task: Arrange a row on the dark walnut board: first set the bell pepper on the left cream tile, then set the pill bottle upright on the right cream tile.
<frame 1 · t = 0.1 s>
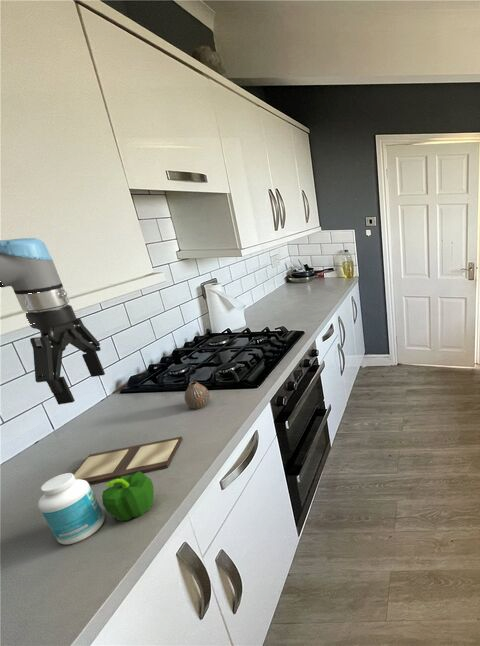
hand: (83, 388, 87), 22 cm above the worktop, tool pointing down, fingers open, 13 cm apart
pill bottle: (83, 530, 75), on the worktop
layout board: (128, 462, 93), on the worktop
bell pepper: (137, 510, 79), on the worktop
brown rounded bulb: (200, 406, 118), on the worktop
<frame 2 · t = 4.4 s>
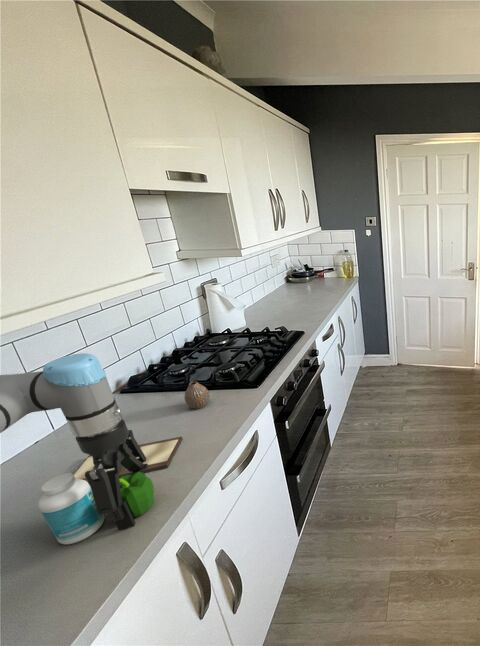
hand: (136, 509, 79), 0 cm above the worktop, tool pointing down, fingers closed on bell pepper, 8 cm apart
bell pepper: (137, 510, 79), on the worktop, touching gripper
everything else where it was.
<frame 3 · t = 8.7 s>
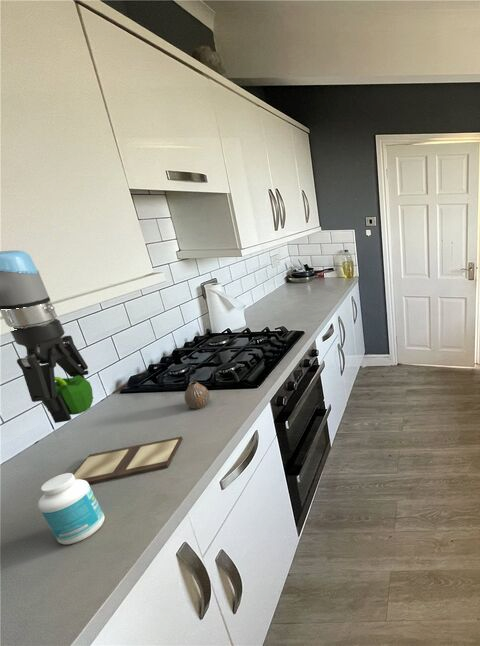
hand: (75, 409, 84), 19 cm above the worktop, tool pointing down, fingers closed on bell pepper, 8 cm apart
bell pepper: (76, 411, 84), point 18 cm above the worktop, touching gripper
everything else where it was.
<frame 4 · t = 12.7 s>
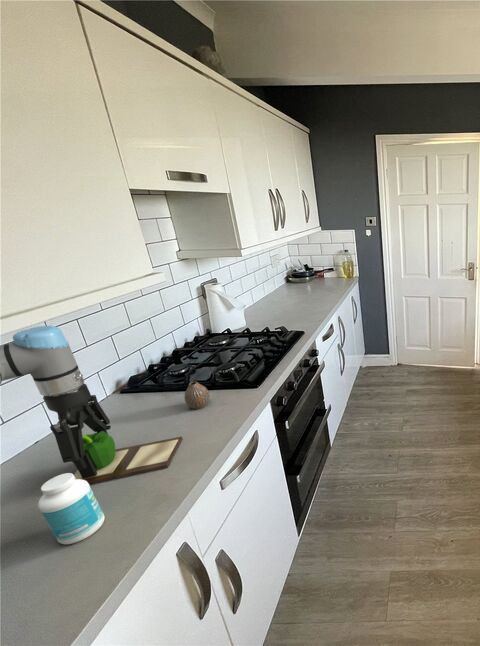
hand: (99, 463, 91), 1 cm above the worktop, tool pointing down, fingers closed on bell pepper, 8 cm apart
bell pepper: (100, 464, 91), point 1 cm above the worktop, touching gripper, layout board
everything else where it was.
when the fingers open (1 cm above the worktop, at t = 13.1 s): bell pepper stays where it is, resting on layout board.
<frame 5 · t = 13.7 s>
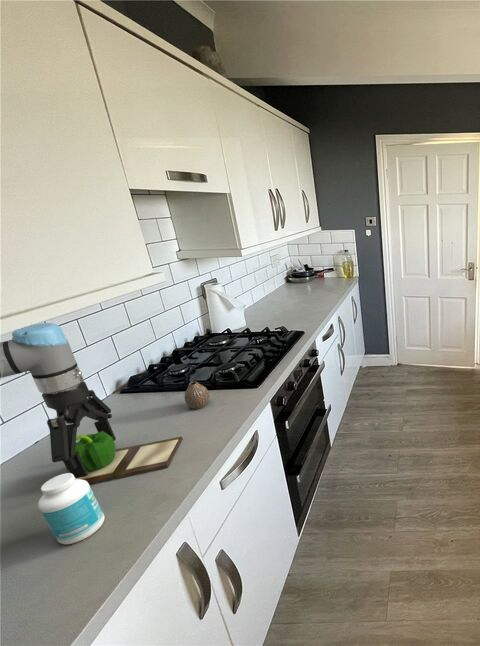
hand: (96, 457, 90), 4 cm above the worktop, tool pointing down, fingers open, 13 cm apart
bell pepper: (100, 464, 91), point 1 cm above the worktop, touching layout board
everything else where it was.
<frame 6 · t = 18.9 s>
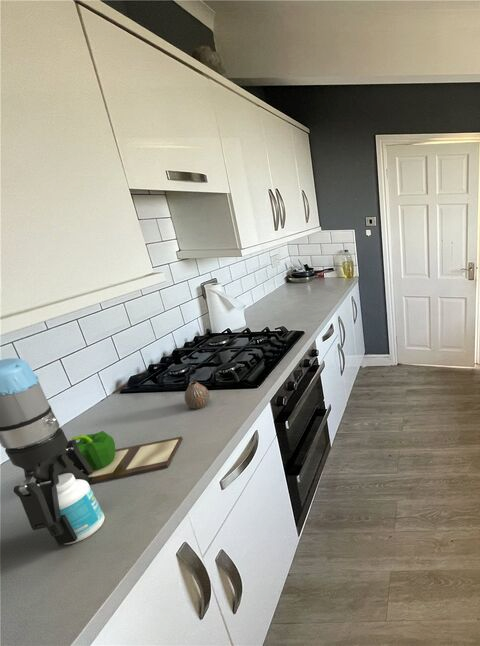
hand: (80, 524, 74), 2 cm above the worktop, tool pointing down, fingers closed on pill bottle, 7 cm apart
pill bottle: (83, 530, 75), on the worktop, touching gripper
everything else where it was.
when the fingers open (3 cm above the worktop, at t = 27.1 s): pill bottle stays where it is, resting on layout board.
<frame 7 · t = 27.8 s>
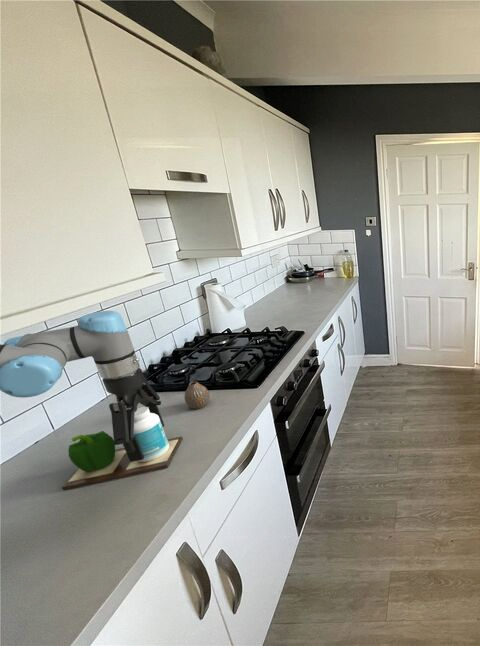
hand: (148, 442, 93), 5 cm above the worktop, tool pointing down, fingers open, 13 cm apart
pill bottle: (153, 454, 95), point 1 cm above the worktop, touching layout board
everything else where it was.
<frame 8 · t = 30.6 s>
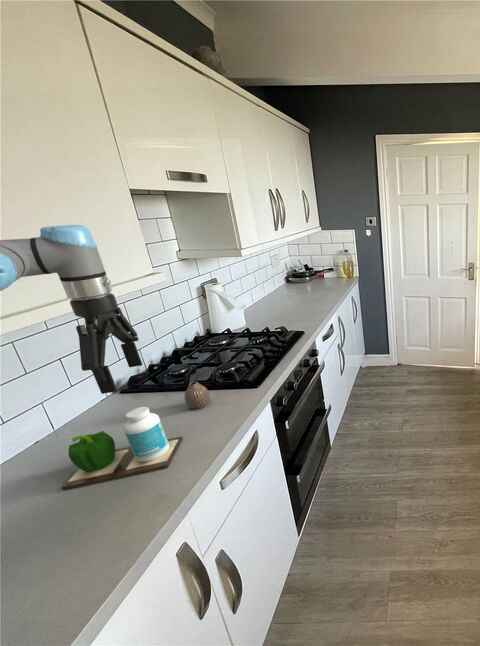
hand: (123, 378, 86), 25 cm above the worktop, tool pointing down, fingers open, 13 cm apart
nothing on the worktop moved.
at the end: bell pepper inside the target area on the layout board (0.1 cm from its centre), point 1.0 cm above the layout board's base; pill bottle inside the target area on the layout board (0.1 cm from its centre), point 1.0 cm above the layout board's base; pill bottle tilted 0° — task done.
